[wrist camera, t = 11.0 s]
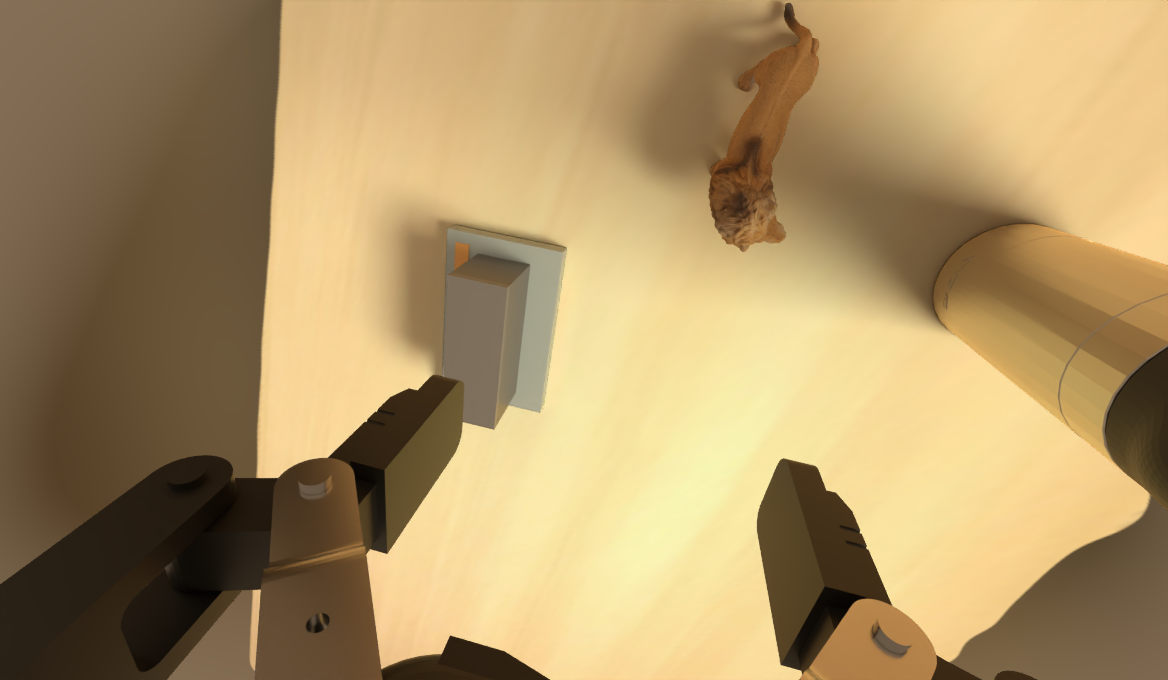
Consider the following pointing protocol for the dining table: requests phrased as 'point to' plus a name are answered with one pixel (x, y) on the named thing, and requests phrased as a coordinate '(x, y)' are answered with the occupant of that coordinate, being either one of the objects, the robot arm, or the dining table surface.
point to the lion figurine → (761, 143)
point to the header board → (538, 303)
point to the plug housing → (485, 334)
